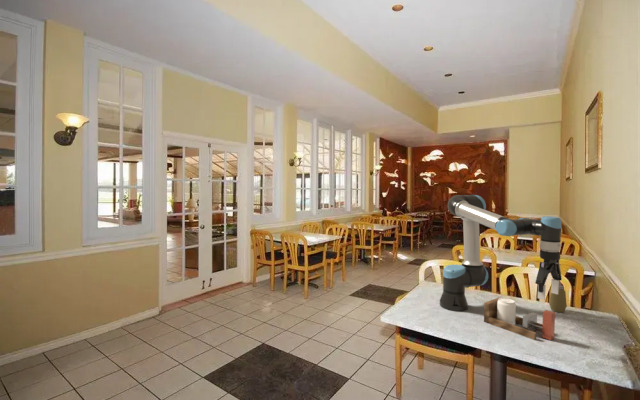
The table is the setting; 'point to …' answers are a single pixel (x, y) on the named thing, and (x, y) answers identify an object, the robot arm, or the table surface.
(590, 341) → the table surface
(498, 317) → the beverage can
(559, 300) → the squeeze bottle
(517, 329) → the cradle frame
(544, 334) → the plunger
